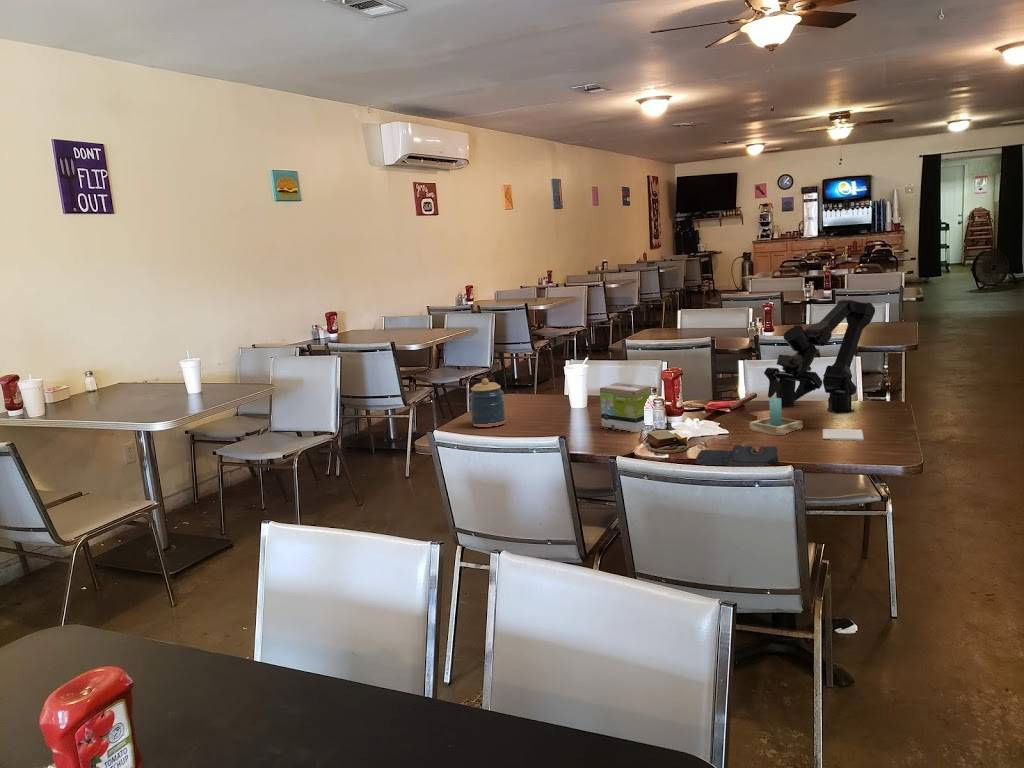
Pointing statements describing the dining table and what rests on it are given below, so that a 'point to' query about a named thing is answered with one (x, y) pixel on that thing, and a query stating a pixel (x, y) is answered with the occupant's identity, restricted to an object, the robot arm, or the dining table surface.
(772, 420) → the t key
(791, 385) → the cup
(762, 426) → the socket collar
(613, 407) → the tea box
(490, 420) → the canister
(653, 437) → the toy sandwich meal
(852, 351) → the robot arm
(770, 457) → the dark slate chunk
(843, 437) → the mat
